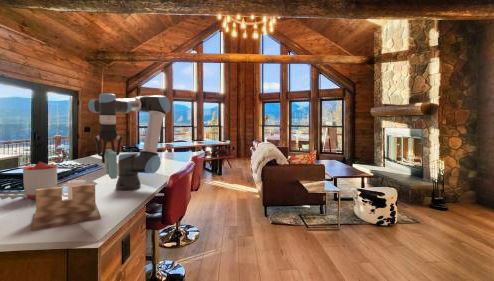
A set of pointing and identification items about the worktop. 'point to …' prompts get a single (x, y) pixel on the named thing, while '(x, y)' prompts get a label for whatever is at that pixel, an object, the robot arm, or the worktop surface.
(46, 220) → the joint base
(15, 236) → the worktop surface
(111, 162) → the teal slotted plate
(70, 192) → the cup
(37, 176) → the citrus juicer
